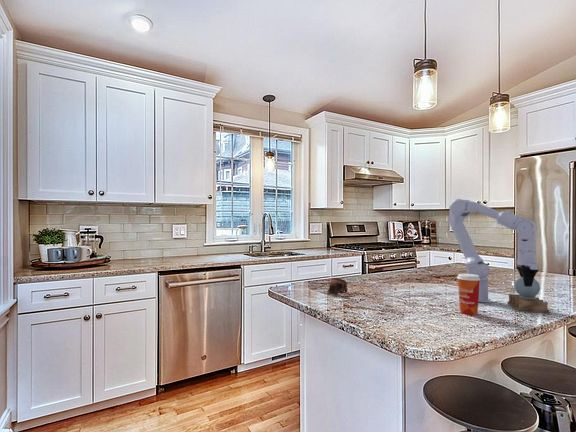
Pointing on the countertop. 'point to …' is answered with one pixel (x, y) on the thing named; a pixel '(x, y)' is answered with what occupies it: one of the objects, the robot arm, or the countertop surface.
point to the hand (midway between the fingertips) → (527, 285)
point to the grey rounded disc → (526, 289)
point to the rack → (528, 304)
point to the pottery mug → (337, 286)
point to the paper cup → (468, 293)
